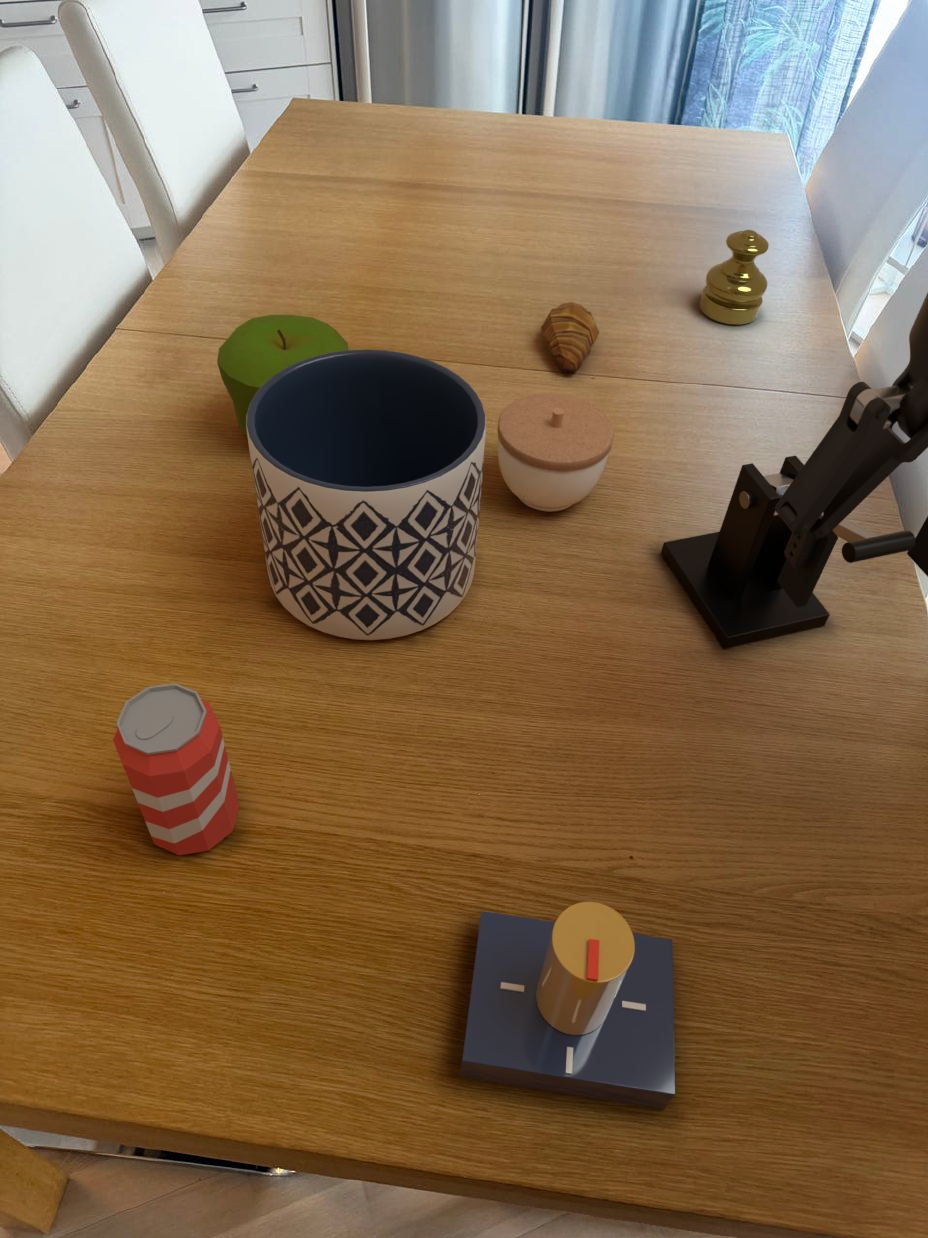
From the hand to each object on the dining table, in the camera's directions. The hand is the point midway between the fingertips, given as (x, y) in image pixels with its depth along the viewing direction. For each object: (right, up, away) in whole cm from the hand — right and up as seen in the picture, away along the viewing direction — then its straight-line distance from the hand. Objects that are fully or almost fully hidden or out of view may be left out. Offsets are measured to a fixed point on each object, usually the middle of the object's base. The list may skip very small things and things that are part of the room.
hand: (857, 578), depth 67 cm
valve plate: (-22, -27, -10) cm, 37 cm away
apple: (-46, +17, +28) cm, 57 cm away
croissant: (-16, +29, +42) cm, 53 cm away
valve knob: (-22, -25, -13) cm, 36 cm away
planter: (-37, +1, +15) cm, 40 cm away
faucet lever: (-2, +4, +3) cm, 5 cm away
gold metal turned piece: (+5, +36, +49) cm, 61 cm away
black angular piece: (-4, 0, +16) cm, 16 cm away
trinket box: (-20, +9, +24) cm, 33 cm away
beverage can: (-47, -17, -2) cm, 50 cm away
